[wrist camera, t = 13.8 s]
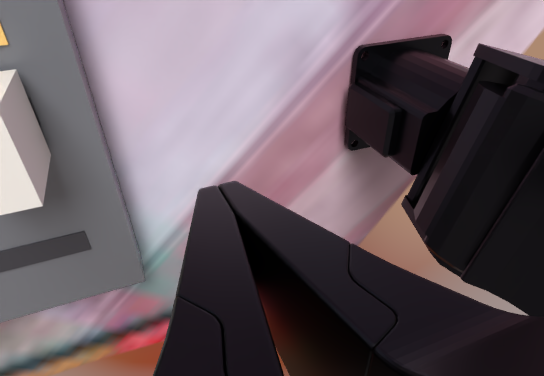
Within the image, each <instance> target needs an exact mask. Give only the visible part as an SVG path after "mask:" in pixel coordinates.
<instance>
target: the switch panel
mask: <svg viewBox="0 0 544 376" xmlns="http://www.w3.org/2000/svg"><path fill="white" fill-rule="evenodd" d="M15 69H16V70H17V72H18V75H19V77H20V80H21V82H22V85H23V87H24V89H25V92H26V94H27V97H28V99H29V102H30V104H31V107H32V109H33V111H34V114H35V116H36V119H37V121H38V124H39V126H40V129H41V131H42V133H43V136H44V138H45V141H46V143H47V146H48V148H49V151H50V153H51V158H50V164H49V171H48V177H47V183H46V189H45V196H44V202H43V206H41V207H36V208H32V209H27V210H23V211H18V212H13V213H9V214H4V215H0V323H1V322H5V321H8V320H12V319H15V318H19V317H22V316H25V315H29V314H32V313H36V312H39V311H43V310H46V309H50V308H53V307H57V306H60V305H64V304H67V303H71V302H74V301H78V300H81V299H84V298H88V297H91V296H95V295H98V294H102V293H105V292H109V291H112V290H116V289H119V288H123V287H126V286H130V285H133V284H137V283H140V282H144V281H145V277H144V270H143V264H142V258H141V254H140V251H139V248H138V245H137V241H136V238H135V235H134V232H133V228H132V225H131V222H130V219H129V215H128V212H127V209H126V205H125V202H124V199H123V196H122V192H121V189H120V186H119V183H118V179H117V176H116V173H115V169H114V166H113V163H112V160H111V156H110V153H109V150H108V147H107V143H106V140H105V137H104V134H103V130H102V127H101V124H100V120H99V117H98V114H97V111H96V107H95V104H94V101H93V98H92V94H91V91H90V88H89V85H88V81H87V78H86V75H85V71H84V68H83V65H82V62H81V58H80V55H79V52H78V49H77V45H76V42H75V39H74V35H73V32H72V29H71V26H70V22H69V19H68V16H67V13H66V9H65V6H64V3H63V0H0V71H6V70H15Z"/></svg>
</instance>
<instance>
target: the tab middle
mask: <svg viewBox="0 0 544 376" xmlns="http://www.w3.org/2000/svg"><path fill="white" fill-rule="evenodd" d="M50 158H51V153H50V151H49V148H48V146H47V143H46V141H45V138H44V136H43V133H42V131H41V129H40V126H39V124H38V121H37V119H36V116H35V114H34V111H33V109H32V107H31V104H30V102H29V99H28V97H27V94H26V92H25V89H24V87H23V85H22V82H21V80H20V77H19V75H18V72H17V70H16V69H15V70H6V71H0V215H4V214H9V213H13V212H18V211H23V210H27V209H32V208H36V207H41V206H43V202H44V196H45V189H46V183H47V177H48V171H49V164H50Z"/></svg>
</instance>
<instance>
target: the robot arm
mask: <svg viewBox="0 0 544 376" xmlns="http://www.w3.org/2000/svg"><path fill="white" fill-rule="evenodd" d="M443 41H444V43H443V45H442V42H443ZM451 44H452V38H451V37H450V36H449V35H445V34H438V35H431V36H423V37H416V38H409V39H402V40H395V41H387V42H380V43H373V44H366V45H361V46H359V47H358V48H357V49H356V50H355V52H354V56H353V66H352V76H351V85H350V87H349V93H348V103H347V113H346V123H345V125H346V134H345V146H346V147H347V148H348V149H349V150H351V151H352V150H358V149H362V148H367V147H372V148H373V149H375V150H376V151H377V152H378V153H380V154H381V155H382V156H383V157H385V158H386V157H390V158H391V159H392V160H394V161H395V162H396V163H397V164H399V165H400V166H401V167H402V168H404V169H405V170H406V171H407V172H409V173H410V174H411V175H416V174H418V175H417V177H416V179H415V181H414V183H413V185H412V187H411V189H410V192H409V193H408V195H406V196H405V197H404V200H403V202H402V207H403V208H404V209H405V211H406V213H407V215H408V217H409V218H410V220H411V221H412V223H413V225H414V227H415V228H416V230H417V231H418V233H419V235H420V237H421V238H422V240H423V242H424V243H425V245H426V247H427V248H428V250H429V251H430V253H431V254H432V255H433V257H434V258H435V259H436V260H437V262H438V263H439V264H440V265H442V266H443V267H445V268H447V269H448V270H449V271H451V272H453V273H454V274H456V275H458V276H459V277H461V279H462V280H463V281H464V282H466V283H468V284H471V285H473V286H476V287H479V288H481V289H484V290H486V291H489V292H490V293H492V294H494V295H496V296H498V297H500V298H502V299H504V300H506V301H508V302H509V303H511V304H513V305H514V306H516V307H517V308H519V309H520V310H522V311H523V312H525V313H526V314H528V315H529V316H526V315H519V314H514V313H510V312H506V311H503V310H499V309H496V308H493V307H491V306H488V305H486V304H483V303H481V302H478V301H476V300H474V299H471V298H469V297H467V296H464V295H462V294H460V293H457V292H455V291H452V290H450V289H448V288H446V287H443V286H441V285H439V284H436V283H434V282H431V281H429V280H427V279H425V278H422V277H420V276H418V275H415V274H413V273H411V272H409V271H407V270H404V269H402V268H400V267H398V266H396V265H393V264H391V263H389V262H387V261H385V260H383V259H381V258H379V257H377V256H375V255H373V254H371V253H369V252H367V251H366V250H364V249H362V248H360V247H358V246H356V245H354V244H350V243H349V242H348V241H347V240H345V239H343V238H341V237H339V236H337V235H336V234H334V233H332V232H330V231H328V230H326V229H324V228H323V227H321V226H319V225H317V224H315V223H313V222H311V221H309V220H308V219H306V218H304V217H302V216H300V215H298V214H296V213H295V212H293V211H291V210H289V209H287V208H285V207H283V206H282V205H280V204H278V203H276V202H274V201H272V200H270V199H269V198H267V197H265V196H263V195H261V194H259V193H257V192H256V191H254V190H252V189H250V188H248V187H246V186H244V185H243V184H241V183H239V182H237V181H232V182H227V183H223V184H220V185H219V186H218V187H217V186H210V187H206V188H201V189H199V191H198V194H197V199H196V204H195V208H194V213H193V218H192V222H191V227H190V232H189V236H188V241H187V246H186V250H185V255H184V260H183V264H182V269H181V274H180V278H179V283H178V288H177V292H176V298H175V301H174V305H173V310H172V315H171V319H170V322H169V326H168V330H167V334H166V338H165V341H164V344H163V347H162V350H161V354H160V356H159V359H158V362H157V365H156V368H155V371H154V374H153V376H284V374H283V370H282V367H281V364H280V361H279V357H278V354H277V351H278V353H279V355H280V356H281V359H282V361H283V363H284V365H285V366H286V369H287V371H288V373H289V375H290V376H544V60H542V59H538V58H534V57H530V56H526V55H523V54H519V53H515V52H511V51H507V50H503V49H499V48H495V47H491V46H487V45H484V44H480V43H479V44H478V46H477V49H476V51H475V53H474V56H475V58H474V60H473V62H472V64H471V66H470V68H467V67H464V66H462V65H459V64H457V63H454V62H452V61H449V60H448V56H449V52H450V48H451ZM441 45H442V46H441ZM363 52H365V56H364V57H363V58H361V56H362V54H363ZM354 140H355V141H354ZM353 141H354V143H353V144H352V142H353ZM276 348H277V351H276Z"/></svg>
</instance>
